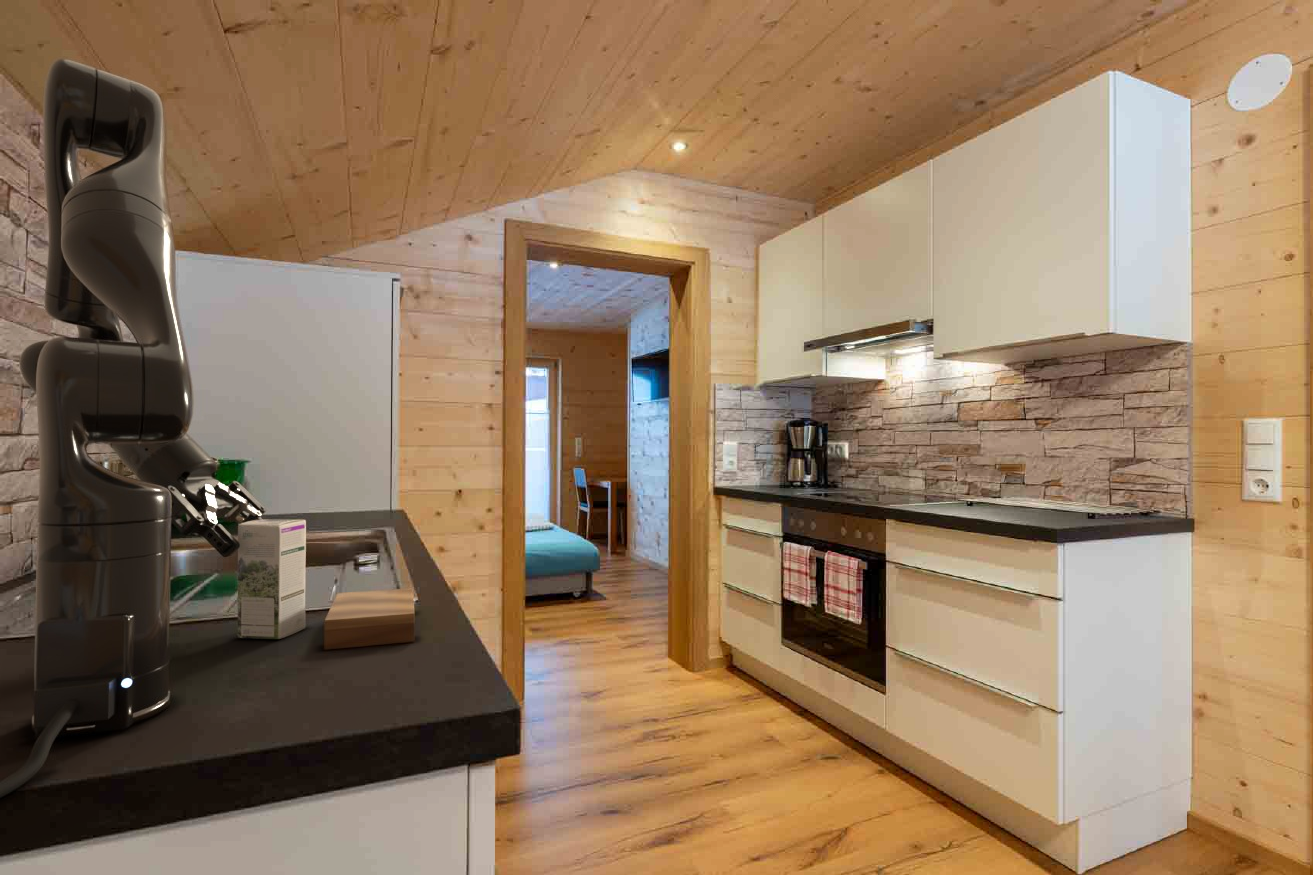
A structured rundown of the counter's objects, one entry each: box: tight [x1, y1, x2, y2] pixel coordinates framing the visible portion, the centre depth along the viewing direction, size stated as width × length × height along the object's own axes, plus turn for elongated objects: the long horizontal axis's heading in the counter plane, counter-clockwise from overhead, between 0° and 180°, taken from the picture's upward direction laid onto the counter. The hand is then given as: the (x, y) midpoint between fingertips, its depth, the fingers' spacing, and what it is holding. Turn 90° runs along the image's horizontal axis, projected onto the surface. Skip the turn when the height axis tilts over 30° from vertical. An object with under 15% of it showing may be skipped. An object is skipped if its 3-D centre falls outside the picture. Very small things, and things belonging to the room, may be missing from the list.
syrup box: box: [237, 518, 307, 640], centre depth 86 cm, size 6×6×14 cm
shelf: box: [323, 587, 416, 651], centre depth 88 cm, size 16×10×4 cm, turn 21°
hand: (254, 547), depth 86 cm, fingers open, 8 cm apart
